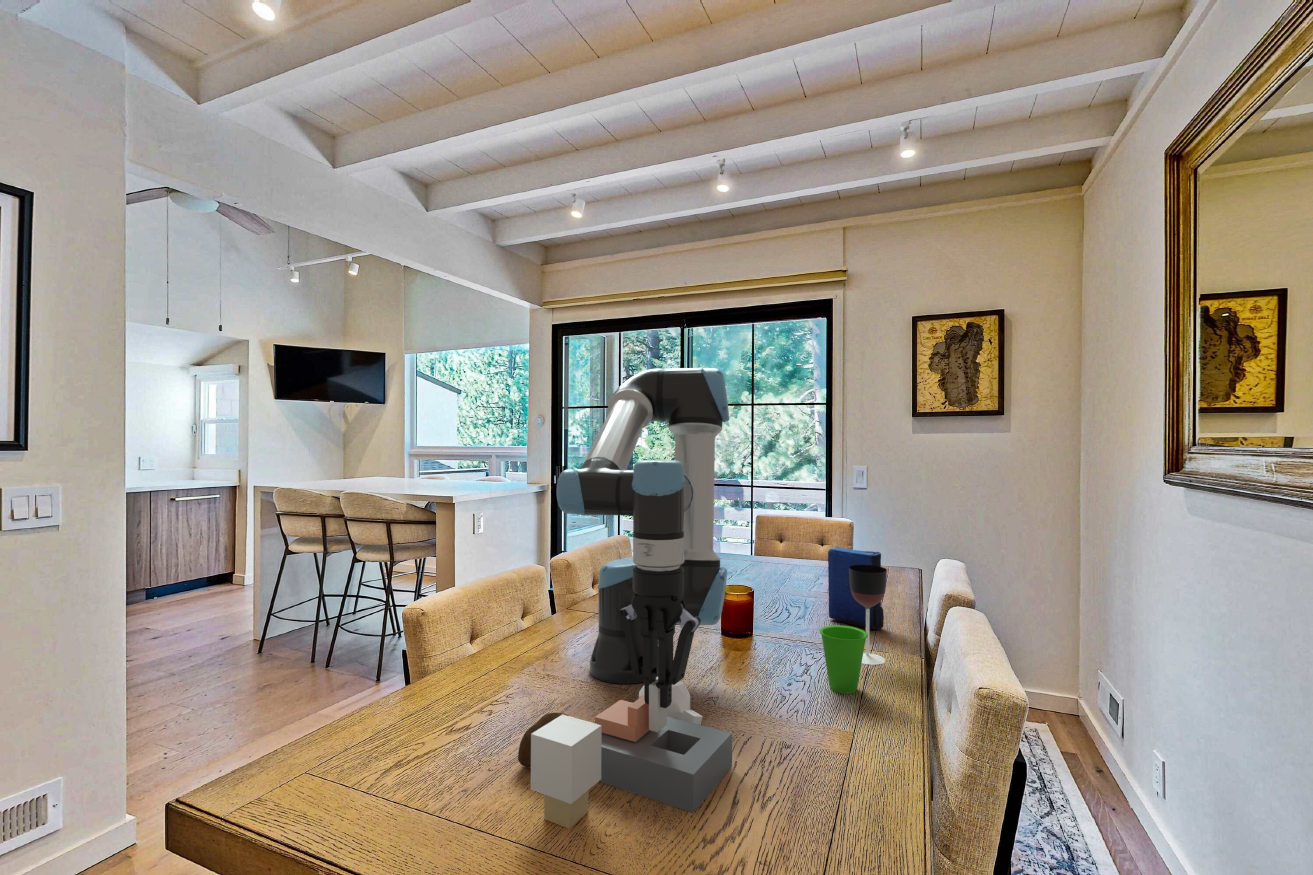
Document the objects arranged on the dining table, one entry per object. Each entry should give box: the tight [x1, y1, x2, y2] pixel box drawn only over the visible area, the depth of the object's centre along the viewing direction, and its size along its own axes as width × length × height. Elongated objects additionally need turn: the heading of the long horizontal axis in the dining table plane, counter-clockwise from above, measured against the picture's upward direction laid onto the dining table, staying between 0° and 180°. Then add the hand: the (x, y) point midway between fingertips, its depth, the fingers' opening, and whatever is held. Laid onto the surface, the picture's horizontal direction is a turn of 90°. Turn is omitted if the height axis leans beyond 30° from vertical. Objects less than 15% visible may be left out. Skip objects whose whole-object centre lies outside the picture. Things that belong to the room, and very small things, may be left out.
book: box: [827, 546, 885, 630], centre depth 162 cm, size 14×5×20 cm, turn 42°
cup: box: [819, 624, 868, 695], centre depth 120 cm, size 9×9×11 cm
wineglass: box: [849, 565, 888, 666], centre depth 136 cm, size 8×9×20 cm
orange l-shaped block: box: [594, 696, 649, 742], centre depth 92 cm, size 7×7×4 cm
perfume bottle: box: [638, 677, 704, 725], centre depth 102 cm, size 9×9×12 cm
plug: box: [530, 713, 602, 829], centre depth 79 cm, size 6×6×11 cm
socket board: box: [598, 717, 733, 814], centre depth 89 cm, size 18×13×5 cm
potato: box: [517, 712, 570, 769], centre depth 92 cm, size 7×10×7 cm
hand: (657, 727), depth 89 cm, fingers closed
